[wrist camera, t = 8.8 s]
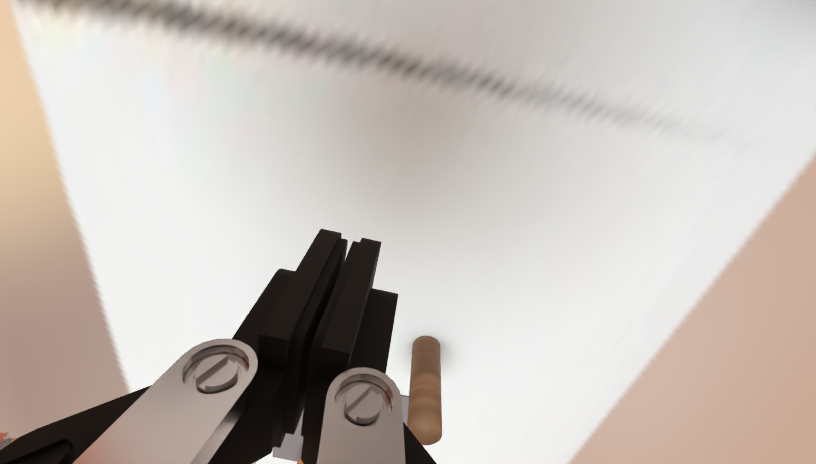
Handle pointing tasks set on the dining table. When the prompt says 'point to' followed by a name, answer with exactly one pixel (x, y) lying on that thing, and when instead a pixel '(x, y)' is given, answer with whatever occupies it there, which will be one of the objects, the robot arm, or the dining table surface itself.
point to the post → (425, 391)
